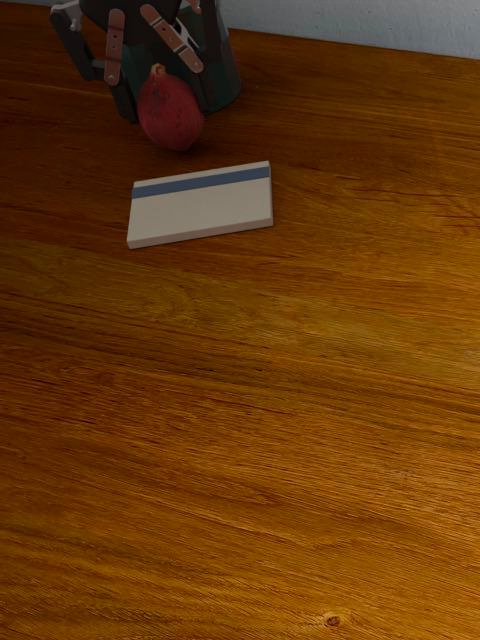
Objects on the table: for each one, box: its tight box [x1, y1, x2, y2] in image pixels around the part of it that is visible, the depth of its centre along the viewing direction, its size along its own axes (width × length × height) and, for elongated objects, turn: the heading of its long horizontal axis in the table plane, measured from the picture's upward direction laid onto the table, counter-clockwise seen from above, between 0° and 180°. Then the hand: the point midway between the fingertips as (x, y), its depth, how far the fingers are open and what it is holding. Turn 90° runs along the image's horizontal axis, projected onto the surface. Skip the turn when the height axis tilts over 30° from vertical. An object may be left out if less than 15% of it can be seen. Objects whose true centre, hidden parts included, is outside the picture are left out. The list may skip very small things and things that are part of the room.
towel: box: [126, 160, 274, 250], centre depth 91 cm, size 12×10×1 cm
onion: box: [136, 63, 205, 153], centre depth 96 cm, size 6×6×8 cm
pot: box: [104, 0, 243, 116], centre depth 103 cm, size 11×16×10 cm
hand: (170, 114), depth 96 cm, fingers closed on onion, 6 cm apart
